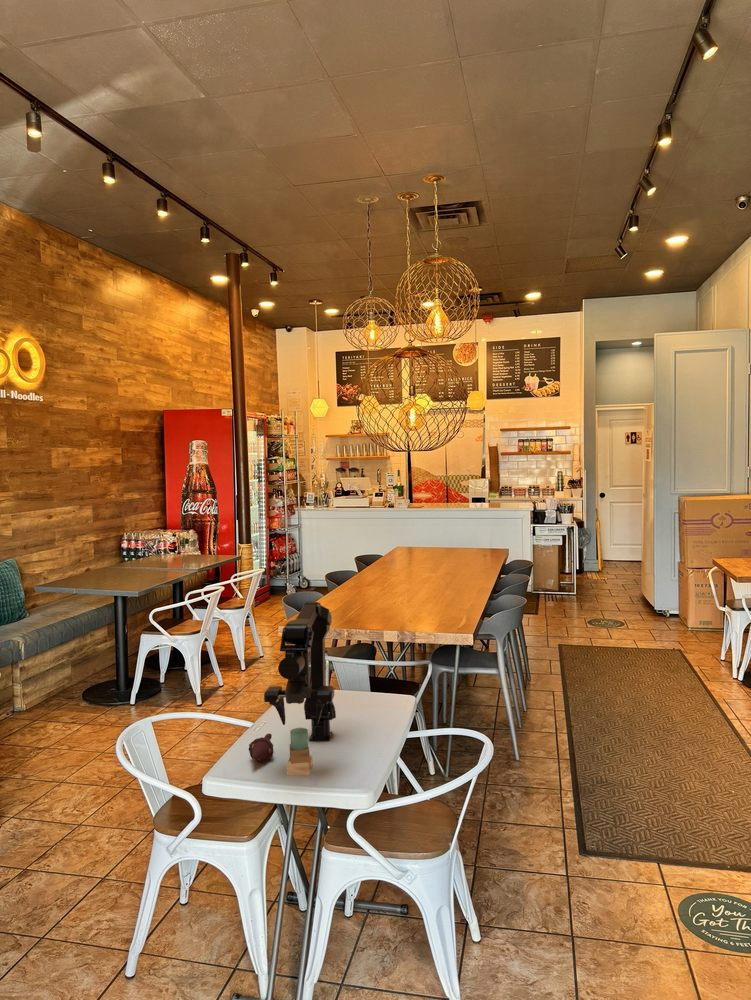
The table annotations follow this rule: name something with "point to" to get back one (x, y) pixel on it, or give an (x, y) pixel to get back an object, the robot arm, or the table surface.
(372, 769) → the table surface
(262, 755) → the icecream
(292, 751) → the tower top
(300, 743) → the sage green cylinder
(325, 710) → the robot arm
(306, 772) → the tower base
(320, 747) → the table surface
